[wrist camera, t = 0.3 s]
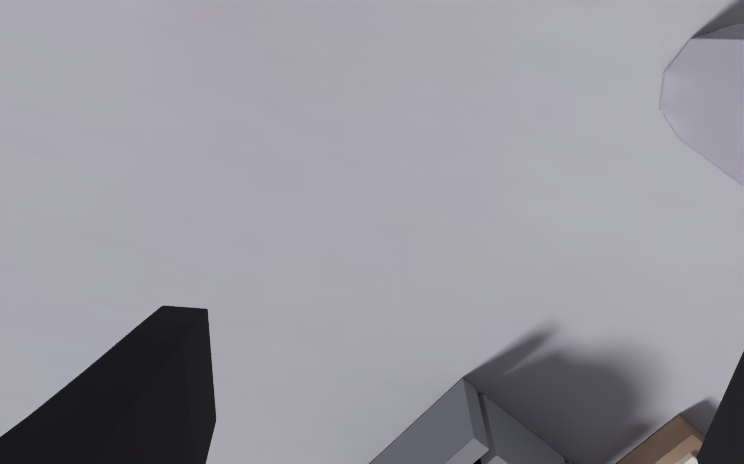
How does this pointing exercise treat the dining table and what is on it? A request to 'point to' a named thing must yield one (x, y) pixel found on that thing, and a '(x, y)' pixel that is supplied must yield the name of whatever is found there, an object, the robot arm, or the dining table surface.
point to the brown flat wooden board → (669, 445)
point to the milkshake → (709, 98)
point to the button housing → (468, 435)
